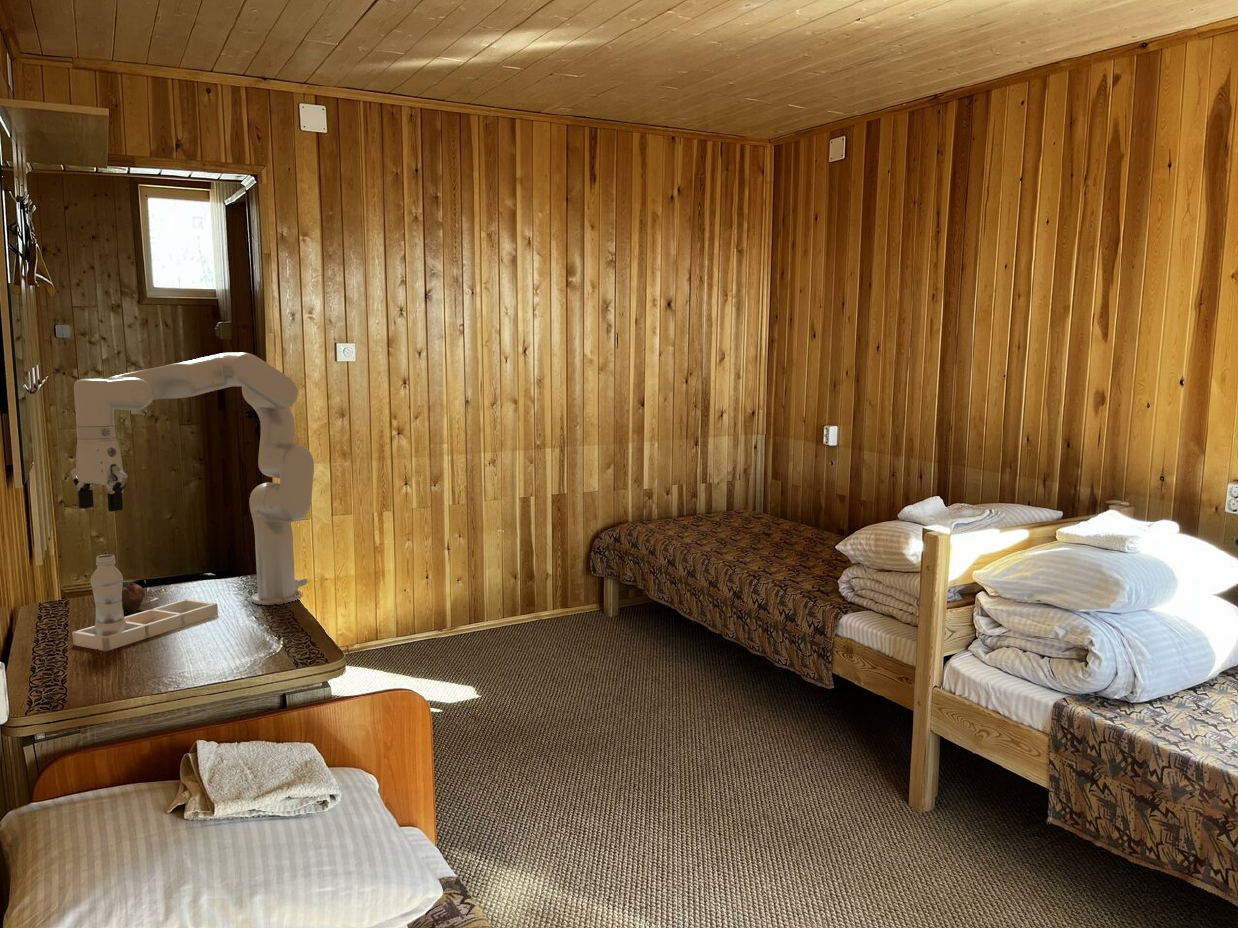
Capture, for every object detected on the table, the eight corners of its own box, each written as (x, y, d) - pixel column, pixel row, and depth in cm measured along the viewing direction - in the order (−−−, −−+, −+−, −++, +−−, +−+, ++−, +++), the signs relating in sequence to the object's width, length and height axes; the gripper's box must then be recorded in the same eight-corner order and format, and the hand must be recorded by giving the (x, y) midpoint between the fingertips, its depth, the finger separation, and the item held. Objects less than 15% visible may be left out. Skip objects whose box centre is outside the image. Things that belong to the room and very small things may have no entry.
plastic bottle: (118, 645, 210) (112, 559, 208) (89, 645, 210) (82, 559, 208) (133, 636, 217) (127, 553, 214) (104, 636, 217) (98, 553, 214)
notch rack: (186, 610, 239) (186, 598, 238) (217, 615, 234) (217, 603, 234) (73, 644, 211) (72, 632, 210) (106, 651, 206) (105, 638, 206)
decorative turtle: (102, 622, 229) (98, 590, 228) (105, 611, 242) (101, 581, 241) (146, 615, 233) (142, 583, 232) (147, 604, 246) (143, 575, 246)
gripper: (137, 434, 207) (142, 509, 209) (85, 431, 215) (90, 504, 217) (107, 436, 201) (112, 514, 203) (54, 433, 208) (59, 509, 210)
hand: (101, 509), depth 210 cm, fingers open, 9 cm apart
